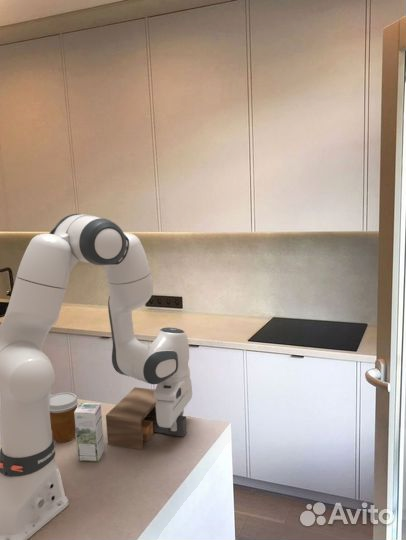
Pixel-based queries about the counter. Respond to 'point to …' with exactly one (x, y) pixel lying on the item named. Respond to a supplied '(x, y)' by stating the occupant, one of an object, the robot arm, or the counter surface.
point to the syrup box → (89, 431)
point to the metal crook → (179, 432)
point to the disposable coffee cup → (63, 416)
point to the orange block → (147, 429)
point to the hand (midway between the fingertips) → (176, 426)
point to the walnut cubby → (130, 418)
